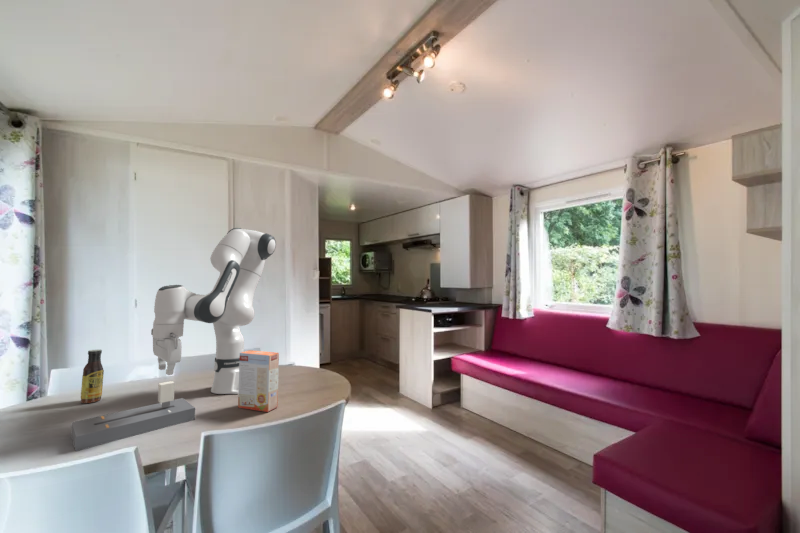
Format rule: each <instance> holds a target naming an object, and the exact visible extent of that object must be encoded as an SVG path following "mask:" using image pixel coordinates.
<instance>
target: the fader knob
mask: <svg viewBox="0 0 800 533" xmlns="http://www.w3.org/2000/svg"><path fill="white" fill-rule="evenodd" d="M173 400H175V382H174V381H173V380H171V381H164V382H159V383H158V390H157V402H158V403H162V407H163V408H165V407H169V406H170V401H173Z"/></svg>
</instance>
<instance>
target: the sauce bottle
mask: <svg viewBox="0 0 800 533" xmlns="http://www.w3.org/2000/svg"><path fill="white" fill-rule="evenodd" d="M102 351H103V350H102V349H90V350H88V352H87V355H88V357H87V359H88V360H87V363H86V364H85V366H84V367H83V371H82V379H81V388H80V403H81V404H91V403H92V404H93V403H97V402H99V401H101V399H102V396H103V384H104V373H105V372H104V371H105V370H104V368H103V364H102V361H101V355H102Z"/></svg>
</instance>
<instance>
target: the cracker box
mask: <svg viewBox="0 0 800 533" xmlns="http://www.w3.org/2000/svg"><path fill="white" fill-rule="evenodd" d="M279 358H280V352H273V351H265V350H244V352H241V353H240V358H239V392H238V394H237V395H238V396H237V397H238V398H237V408H239V409H245V410H252V411H258V412H263V413H264V412H265V413H269V412H271V411H272V410H275V409H277V408H278V405H279V404H278V402H279V400H278V399H279V366H280V365H279V360H280V359H279Z"/></svg>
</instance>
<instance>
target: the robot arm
mask: <svg viewBox="0 0 800 533" xmlns="http://www.w3.org/2000/svg"><path fill="white" fill-rule="evenodd" d="M276 247H277V241H276V239H275V237H274V236H273V235H272V234H269V233H265V232H261V231H259V230H255V229H252V230H251V229H247V228H246V229H245V228H241V227H233V228H230V230H228V231H227V233H226V234H225V235H224V237H222V239H221V240H220V241H219V242H218V243H217V245H216V246H215V248H213V250H212V252H211V256H210V259H209V260H210V263H211V265H212V267H213V268H214V269H215V270H216V271H218V272H219V277H218V278H217V280H216V282H215V284H214V286H213V288H212V290H211V291H210V292H209V293H207V294H199V293H198V294H197V293H196V292H192V291H190V290H188V289H187V288H185V286H184V285H182V284H173V285H171V284H169V285H164V286H162V287H159V288H158V290H157V291H156V295H155V298H154V306H153V309H154V310H153V312H154V320H153V322H152V323H153V324H152V329H151V330H150V333H151V336H152V352H153V355H154V356H156V357H157V363H158V369H159V370H160V371H164V370H165V374H166V375H167V376H172V375H174V373H175V372H174V370H175V367H176V364H178V363H180V362H181V361H182V341H181V340H182V339H180V338H181V337H183V336H184V324H185V320H188V321H195V322H202V323H206V324H212V325H213V329H214V334H215V358H214V362H213V367H214V370H213V371H214V374H213V376H214V378H213V382H212V385H211V387H210V392H211V393H212V394H215V395H217V394H218V395H224V394H225V395H227V394H231V395H238V392H239V358H240V353H241V352H245V338H244V335H243V334H242V332H241V328H240V327H243V326H246V325H249V324H250V323H252V321H253V319H254V318H255V309H254V298H255V297H254V296H255V292H256V289H257V286H258V284H259V282H260V279H261V277H262V274H263V271H264V268H265V263H266V260H267V259H268V258H269V257H271V255H273V254H274V252H275V250H276ZM166 365H167V366H166Z"/></svg>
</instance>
